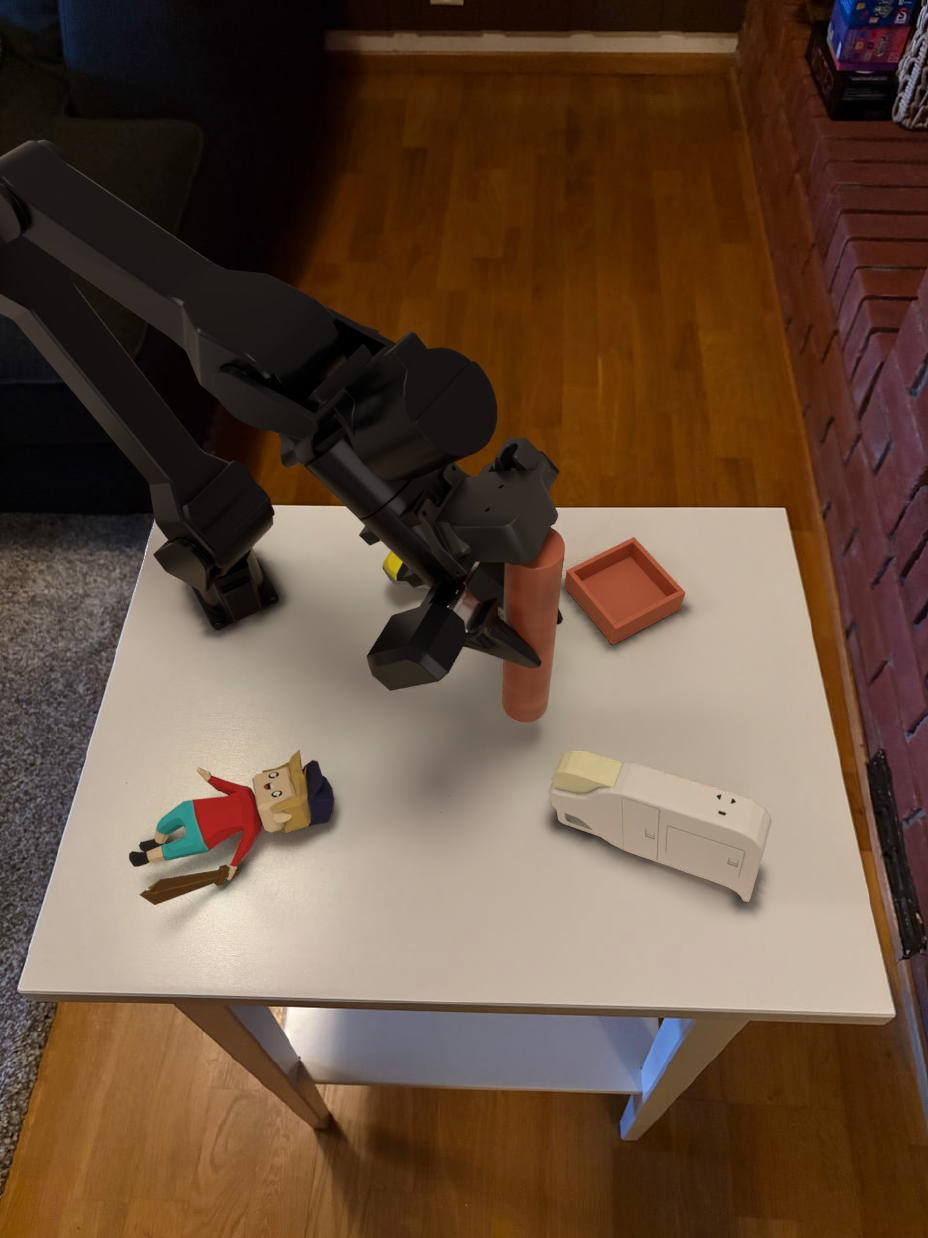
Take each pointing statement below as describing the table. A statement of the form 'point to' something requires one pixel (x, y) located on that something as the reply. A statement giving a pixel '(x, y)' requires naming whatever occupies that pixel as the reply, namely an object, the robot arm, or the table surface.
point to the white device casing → (663, 817)
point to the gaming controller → (396, 571)
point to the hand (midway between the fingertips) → (547, 644)
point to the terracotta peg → (532, 627)
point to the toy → (235, 822)
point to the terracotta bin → (623, 590)
